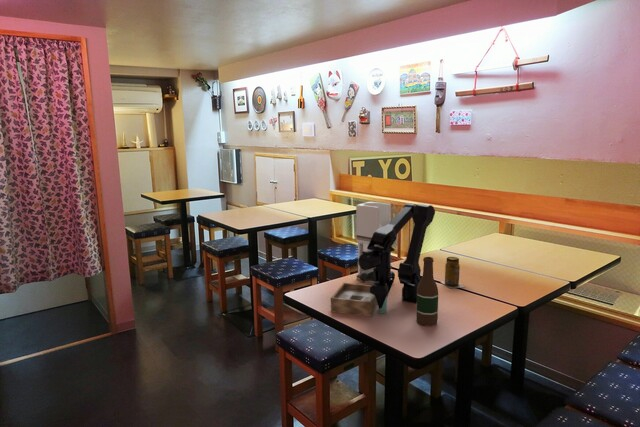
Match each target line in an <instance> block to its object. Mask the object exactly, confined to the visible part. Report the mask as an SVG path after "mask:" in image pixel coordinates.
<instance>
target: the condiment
mask: <svg viewBox="0 0 640 427" xmlns="http://www.w3.org/2000/svg"><path fill="white" fill-rule="evenodd" d="M460 268H461V266H460V258H458V257H456V256H448V257H446V262H445V267H444V281H440V283H441V284H442V285H444V286H445V287H446V288H448V289H459V288H465V285H463V284H461V283H460V270H461V269H460Z"/></svg>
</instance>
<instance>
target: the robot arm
mask: <svg viewBox="0 0 640 427" xmlns="http://www.w3.org/2000/svg"><path fill="white" fill-rule="evenodd" d="M435 214H436V210H435V208H434V206H433V205H431V204H426V203H417V204H416V203H410V202H407V203H405V204H404V205H403V207H402V208H401V210H400V211H398V213H397V214H395V216H394V217H393V218H391V221H390V222H389V224H387V225H386V226H383V227H381V228H379V229H378V230H377V231H375V232H374V234H373V236H372V238H371V241H370V243H369V245H368V247H367V249H368V250H367V251H363V252H362V255H361V256H360V257H359V259H358V258H357V264H358V263H359V266H360V267H361V268H362V269H363V270H366V271H363V272H362V273H361V274H360V280H362V281H361V282H362V283H363V284H365V283H367V282H366V281H370V280H373V282H376V281H377V282H378V283H373V284H372V283H371V287H370V293H371V294H373V295H375V297H376V300H377V303H378V304H377V306H378V307H379V308H382V306H383V304H384V301H385V299H386V296H387V297H388V296H389V293H390V291H391V289H392V286H393V284H394V282H395V279H396V274H395V272H394V271H391V270H392V264H391V262H392V258H391V257H392V253H391V252H394V251H396V250H395V248H394V247H393V246H394V243H395V242H396V240H397V236H398V234H399V232H400V231H401V230H402V229H403V228H404V227H405V226H406V224H407V223H409V222H410V221H411V219H412V223H413V228H412V234H411V236H410V241H409V246H408V250H407V254H406V259H405V260H404V261H403V262H400V263H399V266H398V270H397V277H398V281H399V283H400V284H402V285H403V286H402V288H401V298H402V302H406V303H407V302H408V303H409V302H411V303H417V286H418V284H419V282H420V281H421V279H422V276H421V271H422V270H421V266H420V263H419V262H420V257H421V252H422V248H423V245H424V240H425V236H426V233H427V228H428V227H429V226H430V225H431V223H433V220H434V218H435ZM374 245H377V246H381V247H383V248H381V247H377V246H374ZM371 268H374V269H371ZM368 269H370V270H368ZM360 280H359V281H360ZM378 307H377V308H378Z"/></svg>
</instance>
